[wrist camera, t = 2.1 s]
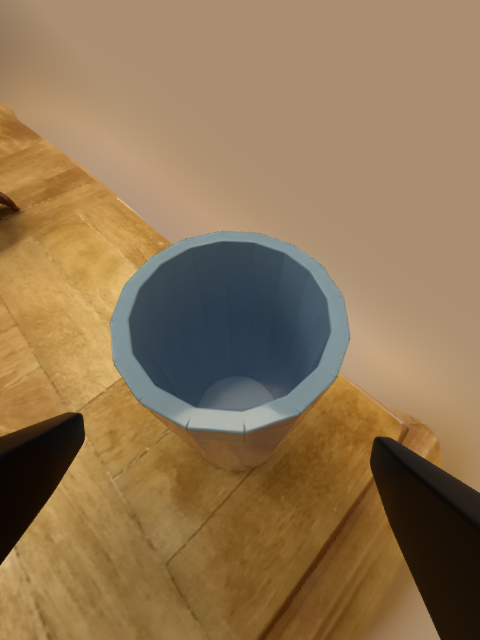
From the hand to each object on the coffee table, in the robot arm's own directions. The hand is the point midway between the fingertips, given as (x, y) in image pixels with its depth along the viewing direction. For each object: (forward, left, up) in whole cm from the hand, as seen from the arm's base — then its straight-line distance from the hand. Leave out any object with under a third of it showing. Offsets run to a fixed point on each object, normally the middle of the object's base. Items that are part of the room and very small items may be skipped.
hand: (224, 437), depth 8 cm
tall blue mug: (+4, 0, -10) cm, 11 cm away
